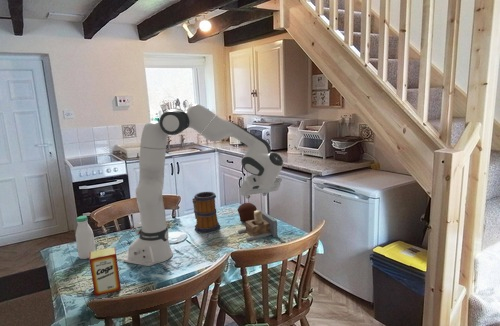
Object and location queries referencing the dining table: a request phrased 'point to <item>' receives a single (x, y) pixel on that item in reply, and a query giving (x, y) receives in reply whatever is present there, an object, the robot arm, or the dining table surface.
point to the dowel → (258, 217)
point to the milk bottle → (84, 238)
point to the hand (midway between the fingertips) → (255, 196)
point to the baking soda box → (104, 271)
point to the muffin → (246, 212)
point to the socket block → (257, 227)
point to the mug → (205, 213)
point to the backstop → (272, 227)
